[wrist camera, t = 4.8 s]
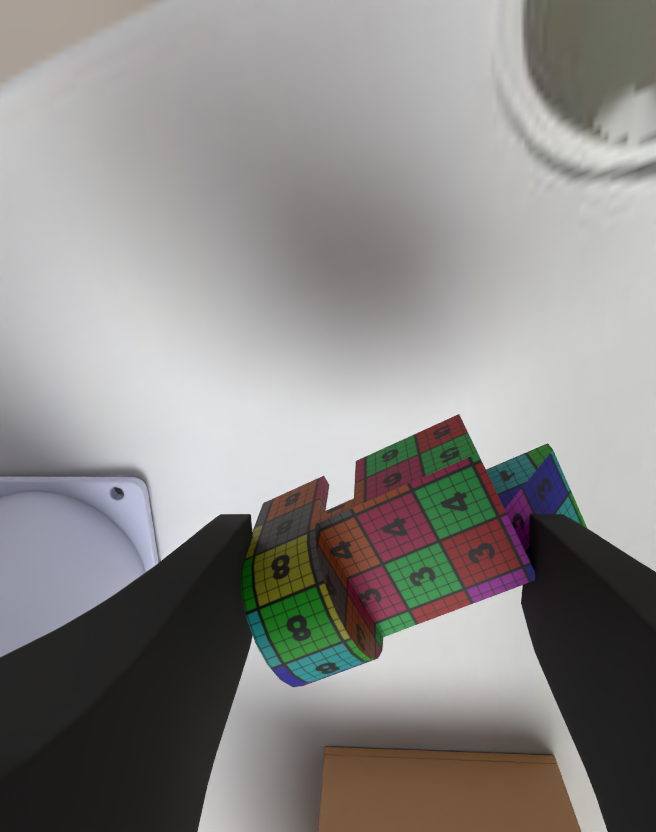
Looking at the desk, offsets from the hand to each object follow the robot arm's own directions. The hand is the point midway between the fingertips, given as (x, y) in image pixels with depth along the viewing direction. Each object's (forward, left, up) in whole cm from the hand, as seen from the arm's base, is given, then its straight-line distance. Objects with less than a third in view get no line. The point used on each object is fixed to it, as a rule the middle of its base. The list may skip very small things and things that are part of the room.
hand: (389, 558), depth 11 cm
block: (+1, 0, -2) cm, 2 cm away
